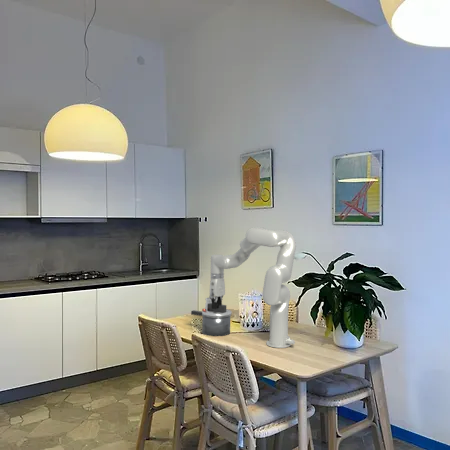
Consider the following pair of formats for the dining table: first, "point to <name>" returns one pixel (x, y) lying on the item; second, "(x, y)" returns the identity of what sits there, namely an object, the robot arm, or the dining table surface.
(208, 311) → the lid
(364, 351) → the dining table surface
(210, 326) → the grey saucepan
